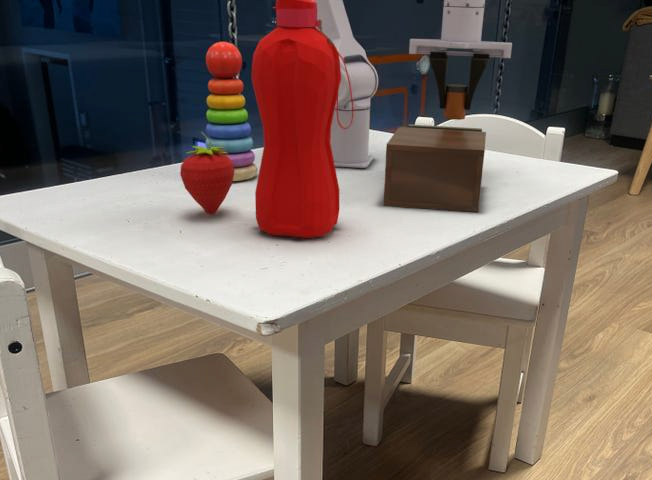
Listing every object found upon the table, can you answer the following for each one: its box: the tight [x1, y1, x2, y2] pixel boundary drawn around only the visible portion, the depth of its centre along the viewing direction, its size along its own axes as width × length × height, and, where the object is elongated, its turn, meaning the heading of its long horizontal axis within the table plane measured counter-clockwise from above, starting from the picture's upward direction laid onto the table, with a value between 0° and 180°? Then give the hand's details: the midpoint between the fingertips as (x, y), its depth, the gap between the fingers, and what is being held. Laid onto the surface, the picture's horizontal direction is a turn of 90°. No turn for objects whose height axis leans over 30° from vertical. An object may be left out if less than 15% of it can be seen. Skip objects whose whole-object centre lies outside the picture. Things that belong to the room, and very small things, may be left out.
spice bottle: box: [443, 83, 469, 121], centre depth 108 cm, size 3×3×5 cm
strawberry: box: [179, 131, 235, 216], centre depth 89 cm, size 6×8×10 cm
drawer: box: [407, 124, 483, 132], centre depth 110 cm, size 17×11×6 cm
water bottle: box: [251, 0, 353, 239], centre depth 81 cm, size 9×11×25 cm
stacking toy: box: [205, 41, 258, 182], centre depth 105 cm, size 8×8×19 cm
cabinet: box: [383, 126, 487, 213], centre depth 100 cm, size 14×13×8 cm
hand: (454, 108), depth 108 cm, fingers closed on spice bottle, 3 cm apart
